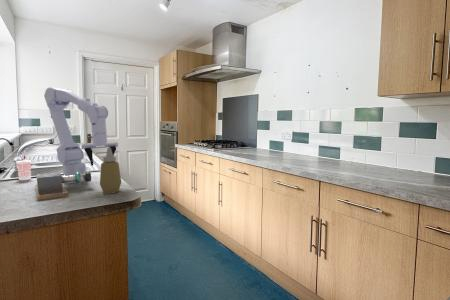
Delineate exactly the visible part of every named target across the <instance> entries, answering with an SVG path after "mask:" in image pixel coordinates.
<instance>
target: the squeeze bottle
mask: <svg viewBox="0 0 450 300" xmlns="http://www.w3.org/2000/svg"><path fill="white" fill-rule="evenodd" d="M105 155H106V156H104V157H102V160H103V162H101V164H100V177H99V185H100V187H101V190H102V193H104V194H115V193H118V192H119V191H120V188H121V184H122V178H121V176H122V175H121V171H120V165H119V162H118V161H117V156H115V155H114V156H113V154H112V151H111V148H110V147H107V150H106V154H105Z"/></svg>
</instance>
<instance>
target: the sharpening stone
mask: <svg viewBox="0 0 450 300" xmlns="http://www.w3.org/2000/svg"><path fill="white" fill-rule="evenodd" d="M62 176H63V175H62V174H61V172H50V173H39V174H36V184H35V192H36V198H37V201H39V202H40V201H45V200H53V199H59V198H66V197H69V192H68V190H67V189H66V187H65V185H64V184H62Z"/></svg>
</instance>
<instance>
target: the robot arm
mask: <svg viewBox="0 0 450 300" xmlns="http://www.w3.org/2000/svg"><path fill="white" fill-rule="evenodd" d="M43 97H44V100H45V103H46V106H47V108H48V110H49V113H50V116H51V118H52V122H53V125H54V128H55V131H56V134H57V137H58V140H59V143H60V144H59V145H58V146H57V148H56V152H57V154H56V156H57V157H56V158H57V160H58V162H59V163H60V164H61V165H62V174H63V175H62V176H70V175H75V173H76V172H80V174H85V173H87V168H86V167H87V166H86V163H85V162H82V160H83V159H84V157H85V154H86V156H87V157H88V159H89V163H90V166H94V158H93V149H103V148H105V149H106V148H107V149H108V148H111V151H112V154H113V156H114V157H115V153H116V150H117V148H119V143H118V142H108V138H107V137H108V136H107V135H108V134H107V121H106V120H107V118H108V116H109V110H108V109H107V107H106V106H104V105H98V103H96V102H93V101H91V99H90V98H88V97H83V98H82V97H80V96H78V95H77V94H75V93H74V92H73V91H72V90H70V89H65V88H59V87H58V88H56V87H51V86H49V87H47V88H46V89H45V91H44V96H43ZM71 103H73V104H75V105H76V106H77V108H78V110H79V111H80V112H81V111H82V112H83V113H85V114H86V115H87V117H88V118H89V122H90V124H91V133H92V135H91V136H92V143H87V144H79V143H78V142H75V141H74V139H73V136H72V133H71V130H70V128H69V124H68V121H67V118H66V116H65V112H64V110H65V109H67V108H68V106H69V105H70V104H71ZM83 150H84V151H83ZM84 152H85V154H84ZM74 183H75V182H71V183H70V184H74ZM81 183H86V181H81ZM67 184H69V183H63V185H67ZM75 184H76V183H75Z"/></svg>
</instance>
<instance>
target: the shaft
mask: <svg viewBox="0 0 450 300" xmlns="http://www.w3.org/2000/svg"><path fill="white" fill-rule="evenodd" d="M81 181H85V183H88V182H89V183H90V182H91V181H92V173H91V172H90V171H89V172H87V171H86V173H85V174H80V172H76V173H75V175H70V176H63V175H62V184H63V183H68V184H72V183H71V182H75V185H81V183H82V182H81ZM63 185H64V184H63Z"/></svg>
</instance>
